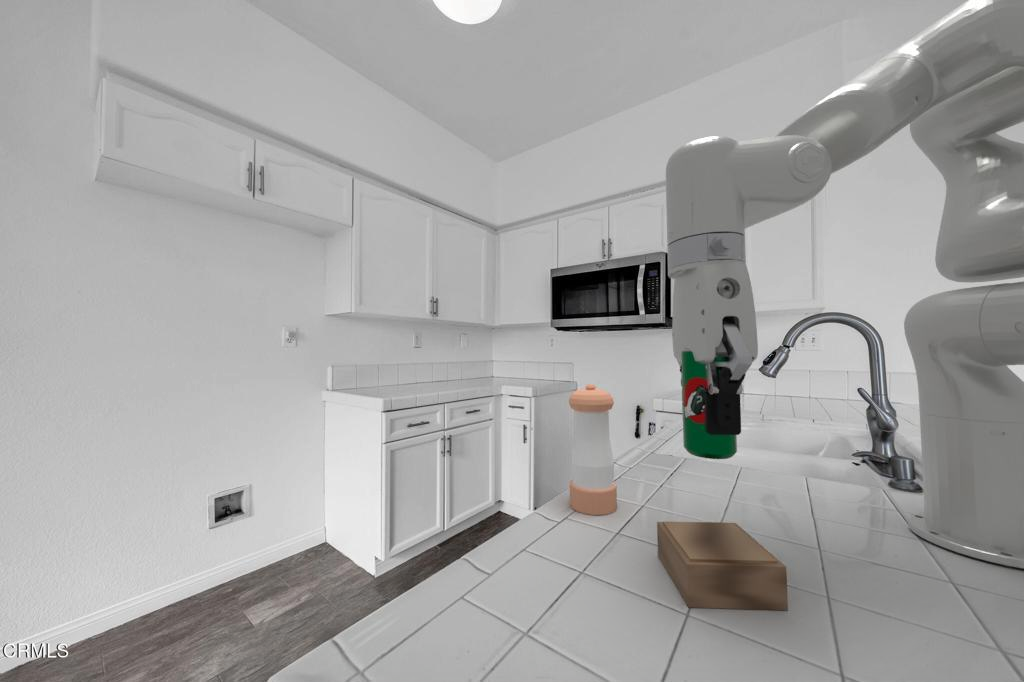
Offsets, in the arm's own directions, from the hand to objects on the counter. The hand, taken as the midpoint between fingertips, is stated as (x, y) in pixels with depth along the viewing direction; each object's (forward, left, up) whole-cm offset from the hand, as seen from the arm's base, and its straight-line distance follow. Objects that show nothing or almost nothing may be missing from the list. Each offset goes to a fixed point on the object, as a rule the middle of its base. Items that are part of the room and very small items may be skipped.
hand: (709, 426), depth 40 cm
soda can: (0, 0, -3) cm, 3 cm away
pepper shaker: (+10, -19, -16) cm, 27 cm away
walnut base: (0, 0, -16) cm, 16 cm away
